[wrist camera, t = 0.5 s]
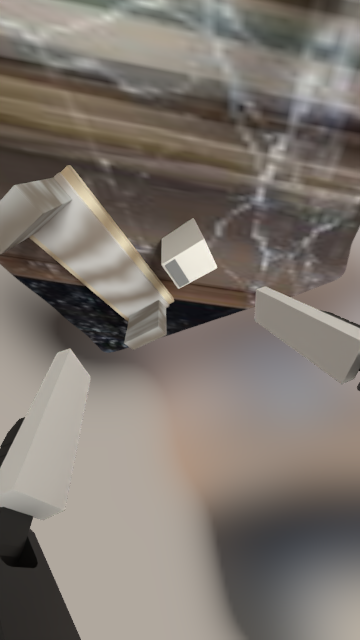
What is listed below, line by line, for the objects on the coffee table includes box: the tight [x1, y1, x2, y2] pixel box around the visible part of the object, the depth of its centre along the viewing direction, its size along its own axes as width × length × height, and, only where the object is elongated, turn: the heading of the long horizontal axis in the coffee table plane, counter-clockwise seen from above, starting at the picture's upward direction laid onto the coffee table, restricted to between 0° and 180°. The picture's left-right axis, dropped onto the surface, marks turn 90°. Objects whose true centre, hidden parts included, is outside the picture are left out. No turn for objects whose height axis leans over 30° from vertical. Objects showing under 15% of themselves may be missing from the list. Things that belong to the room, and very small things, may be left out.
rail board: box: [0, 165, 174, 350], centre depth 32 cm, size 29×14×11 cm, turn 30°
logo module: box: [161, 218, 217, 289], centre depth 29 cm, size 5×7×11 cm
